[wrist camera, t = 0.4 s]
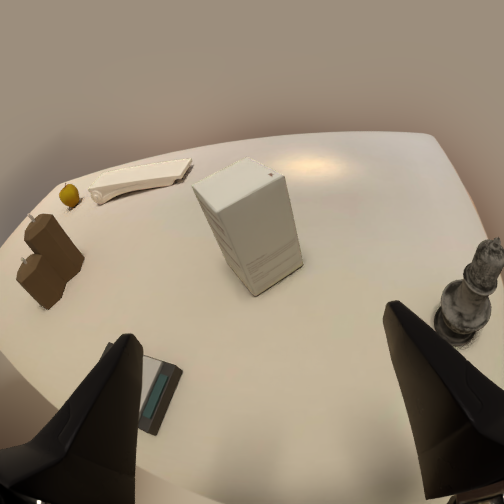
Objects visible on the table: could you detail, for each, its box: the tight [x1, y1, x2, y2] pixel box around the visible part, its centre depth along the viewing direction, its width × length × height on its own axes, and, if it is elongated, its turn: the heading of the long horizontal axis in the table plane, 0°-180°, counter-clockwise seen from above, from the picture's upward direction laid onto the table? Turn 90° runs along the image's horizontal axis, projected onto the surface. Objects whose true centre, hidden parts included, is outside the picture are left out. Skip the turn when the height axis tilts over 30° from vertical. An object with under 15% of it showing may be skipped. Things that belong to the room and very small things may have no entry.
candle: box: [16, 213, 84, 310], centre depth 41 cm, size 14×14×15 cm
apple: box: [59, 183, 79, 207], centre depth 71 cm, size 6×6×8 cm
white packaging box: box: [192, 157, 303, 296], centre depth 31 cm, size 7×7×13 cm
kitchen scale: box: [99, 342, 182, 435], centre depth 26 cm, size 11×8×2 cm
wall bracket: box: [88, 158, 192, 204], centre depth 64 cm, size 10×7×28 cm
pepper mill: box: [434, 237, 504, 346], centre depth 18 cm, size 6×6×12 cm
